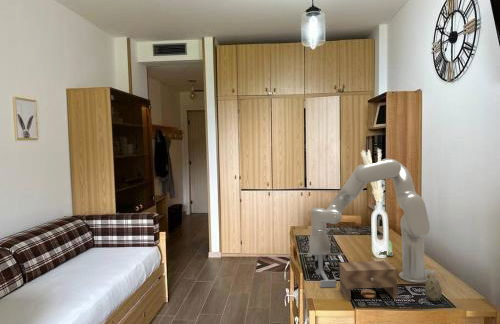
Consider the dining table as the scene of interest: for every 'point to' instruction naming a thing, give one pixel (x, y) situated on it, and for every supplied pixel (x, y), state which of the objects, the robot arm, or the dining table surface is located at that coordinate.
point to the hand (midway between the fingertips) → (320, 267)
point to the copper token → (368, 293)
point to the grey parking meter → (320, 271)
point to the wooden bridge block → (368, 277)
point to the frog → (390, 249)
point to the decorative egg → (433, 289)
